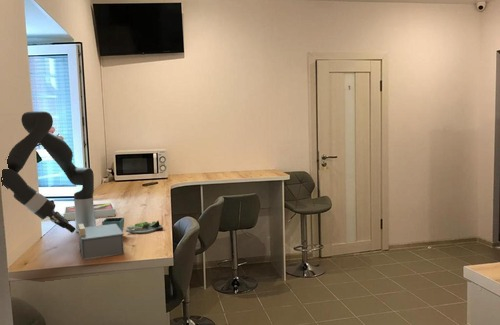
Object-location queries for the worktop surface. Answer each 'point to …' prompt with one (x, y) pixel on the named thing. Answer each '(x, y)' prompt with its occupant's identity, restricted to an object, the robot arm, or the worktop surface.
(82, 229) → the lid
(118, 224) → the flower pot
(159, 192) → the worktop surface
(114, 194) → the worktop surface
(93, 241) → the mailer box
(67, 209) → the product packaging
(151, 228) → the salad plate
